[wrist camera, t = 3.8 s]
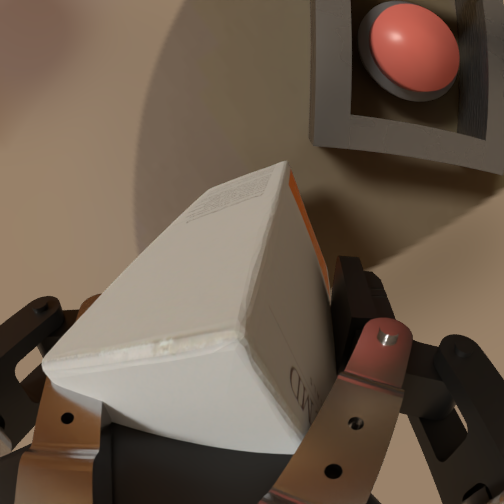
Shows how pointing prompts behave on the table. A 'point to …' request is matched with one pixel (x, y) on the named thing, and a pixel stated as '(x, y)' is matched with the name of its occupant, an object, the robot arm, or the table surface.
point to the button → (408, 51)
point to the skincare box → (214, 325)
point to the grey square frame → (401, 133)
